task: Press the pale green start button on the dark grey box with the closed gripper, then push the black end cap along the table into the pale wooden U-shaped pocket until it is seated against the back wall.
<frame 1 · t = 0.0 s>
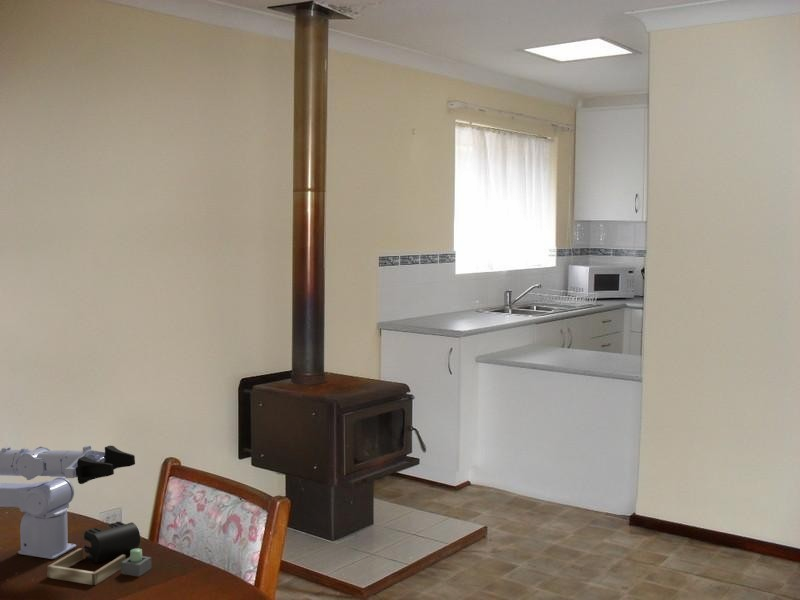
hand: (123, 464, 184), 22 cm above the table, tool horizontal, fingers open, 7 cm apart
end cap: (112, 557, 189), on the table
start button: (136, 557, 181), point 3 cm above the table, slide at 0.0 cm
button housing: (136, 571, 182), on the table
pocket: (92, 568, 183), on the table
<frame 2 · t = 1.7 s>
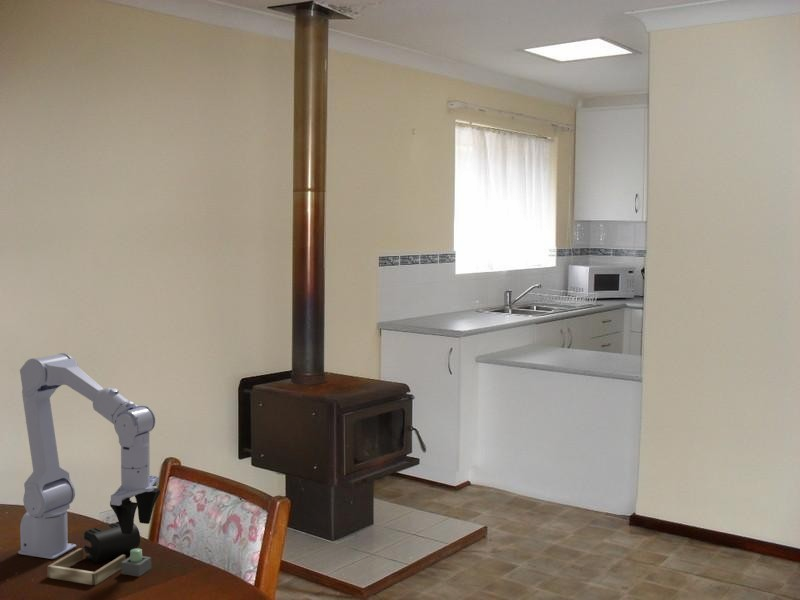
hand: (135, 528, 181), 9 cm above the table, tool pointing down, fingers open, 6 cm apart
nothing on the table moved.
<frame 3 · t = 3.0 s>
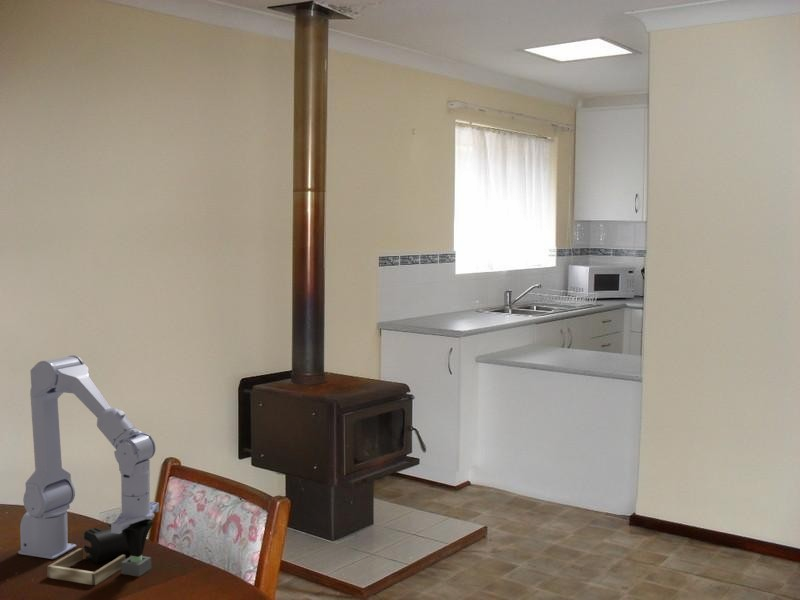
hand: (136, 555, 181), 4 cm above the table, tool pointing down, fingers closed, pressing on start button
start button: (136, 562, 182), point 2 cm above the table, slide at -1.0 cm, touching gripper
everything else where it was.
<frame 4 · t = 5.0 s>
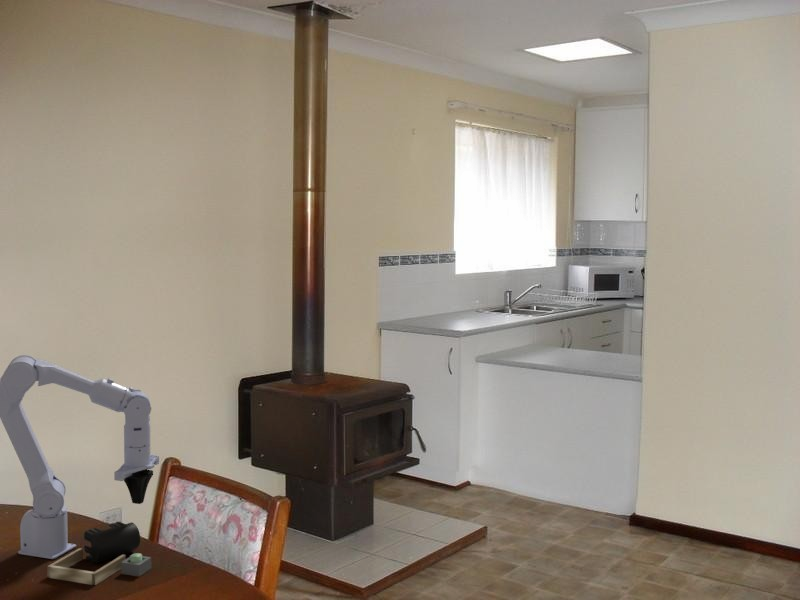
hand: (137, 502, 197), 9 cm above the table, tool pointing down, fingers closed
start button: (136, 562, 182), point 2 cm above the table, slide at -1.1 cm
everything else where it was.
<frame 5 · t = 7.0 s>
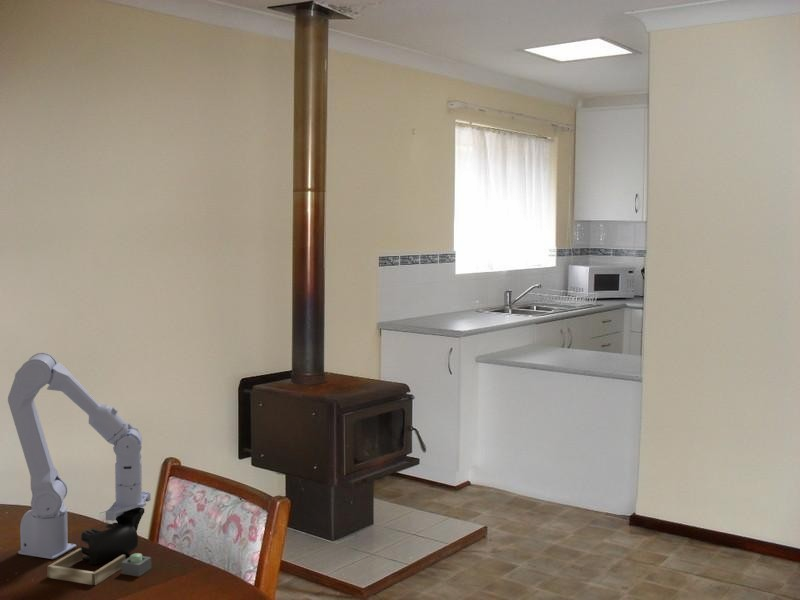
hand: (129, 540, 195), 1 cm above the table, tool pointing down, fingers closed
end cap: (109, 559, 188), on the table, touching gripper
everything else where it was.
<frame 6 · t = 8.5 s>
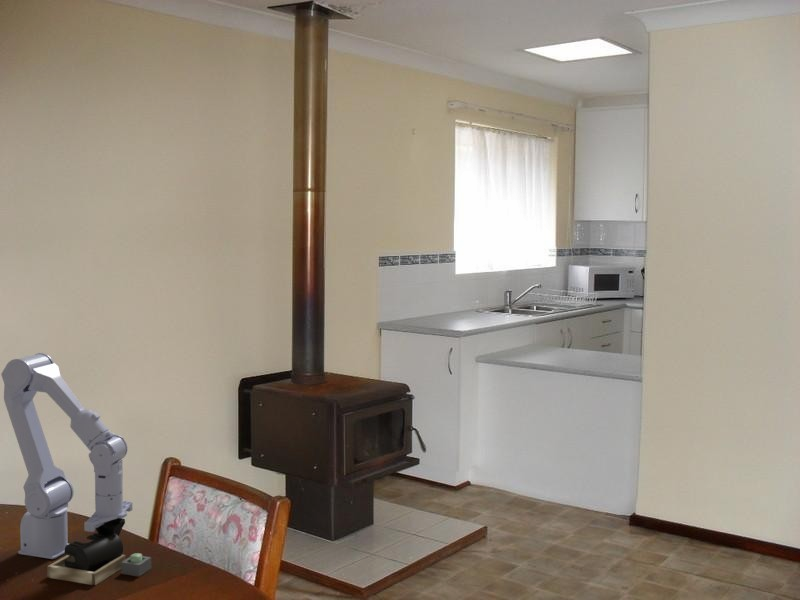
hand: (109, 552, 188), 1 cm above the table, tool pointing down, fingers closed
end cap: (94, 571, 182), on the table, touching gripper, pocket
everything else where it was.
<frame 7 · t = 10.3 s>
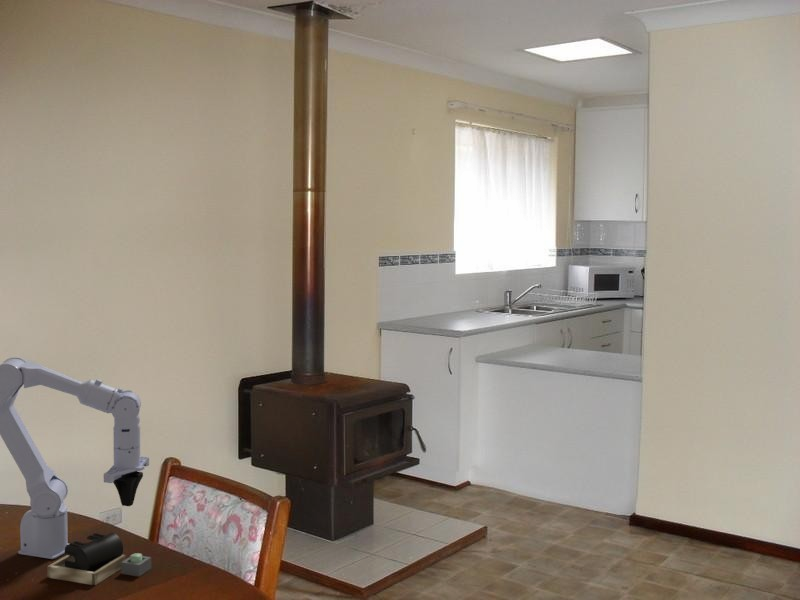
hand: (127, 505, 194), 10 cm above the table, tool pointing down, fingers closed
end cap: (94, 571, 182), on the table, touching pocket
everything else where it was.
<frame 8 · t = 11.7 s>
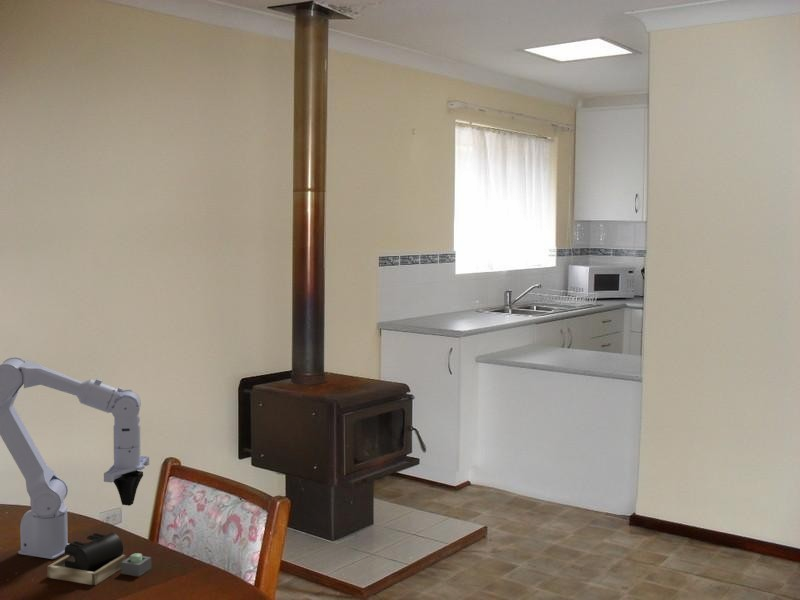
hand: (127, 504, 194), 10 cm above the table, tool pointing down, fingers closed
nothing on the table moved.
at the end: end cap inside the target area (0.9 cm from its centre), on the table; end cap moved 7.6 cm from its start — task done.
